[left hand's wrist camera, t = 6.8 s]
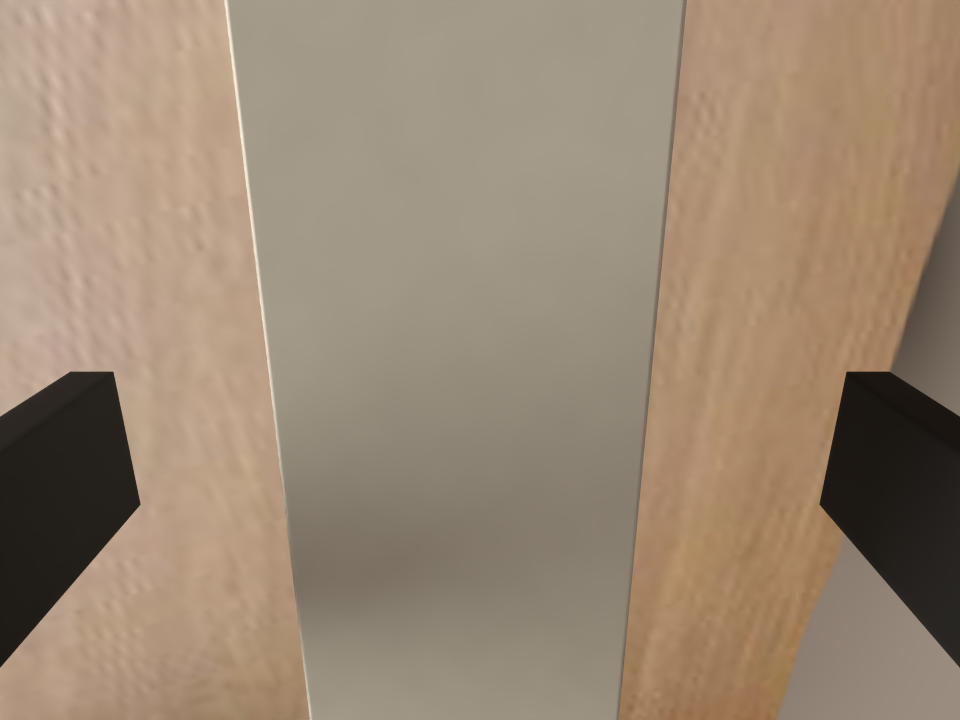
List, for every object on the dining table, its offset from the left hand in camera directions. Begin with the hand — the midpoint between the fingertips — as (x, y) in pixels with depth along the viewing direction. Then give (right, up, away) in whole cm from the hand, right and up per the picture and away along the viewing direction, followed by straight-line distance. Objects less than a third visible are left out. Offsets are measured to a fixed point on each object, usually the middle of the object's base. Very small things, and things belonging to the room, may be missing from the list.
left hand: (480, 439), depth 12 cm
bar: (0, +9, +1) cm, 10 cm away
